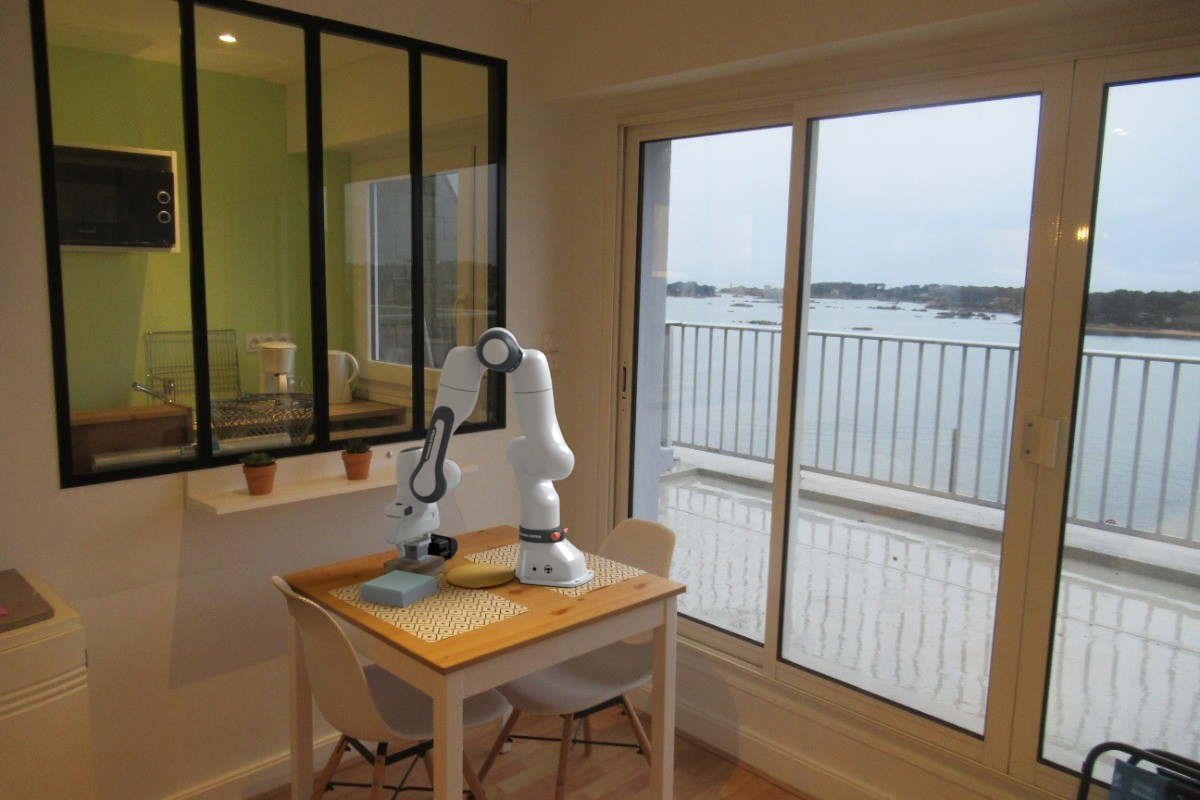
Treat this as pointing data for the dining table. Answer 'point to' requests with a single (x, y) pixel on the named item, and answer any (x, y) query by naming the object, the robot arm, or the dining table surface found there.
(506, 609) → the dining table surface
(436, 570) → the stand
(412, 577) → the stand
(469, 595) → the dining table surface
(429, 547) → the end cap
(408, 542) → the block
